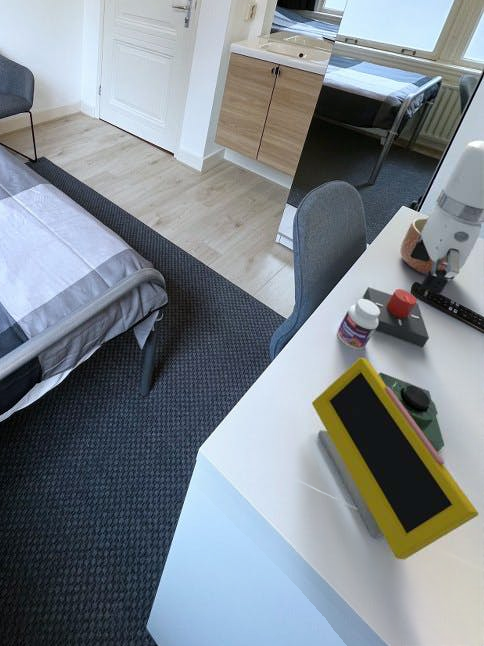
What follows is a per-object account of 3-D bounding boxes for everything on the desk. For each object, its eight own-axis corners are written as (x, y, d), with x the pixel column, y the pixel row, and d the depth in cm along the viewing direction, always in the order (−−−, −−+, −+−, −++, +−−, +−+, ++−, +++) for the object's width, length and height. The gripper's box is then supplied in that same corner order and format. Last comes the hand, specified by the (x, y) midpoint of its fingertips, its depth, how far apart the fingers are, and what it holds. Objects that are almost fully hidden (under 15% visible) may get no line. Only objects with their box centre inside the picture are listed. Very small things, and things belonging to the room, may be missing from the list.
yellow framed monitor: (304, 414, 74) (336, 356, 66) (345, 411, 75) (381, 354, 67) (385, 569, 56) (441, 515, 49) (438, 564, 57) (500, 509, 50)
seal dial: (384, 300, 95) (393, 285, 92) (405, 307, 93) (415, 292, 91) (387, 313, 91) (397, 298, 89) (409, 321, 90) (419, 305, 88)
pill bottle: (332, 336, 89) (349, 304, 84) (342, 323, 92) (359, 291, 87) (359, 355, 85) (378, 322, 80) (369, 341, 88) (388, 309, 84)
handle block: (412, 312, 96) (418, 302, 95) (422, 347, 88) (429, 337, 86) (363, 296, 99) (368, 286, 98) (368, 328, 91) (374, 318, 90)
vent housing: (375, 378, 81) (383, 365, 79) (423, 398, 78) (433, 385, 76) (383, 429, 72) (393, 415, 71) (438, 452, 70) (450, 439, 68)
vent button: (399, 387, 76) (403, 381, 75) (422, 396, 74) (427, 390, 74) (403, 405, 73) (407, 399, 72) (428, 415, 72) (432, 409, 71)
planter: (444, 291, 103) (466, 258, 98) (388, 261, 111) (406, 229, 106) (455, 269, 110) (476, 237, 105) (402, 243, 118) (419, 212, 113)
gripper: (506, 239, 70) (459, 311, 78) (472, 188, 84) (434, 254, 92) (452, 225, 72) (411, 296, 80) (427, 178, 87) (395, 243, 94)
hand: (424, 273), depth 86 cm, fingers open, 9 cm apart
